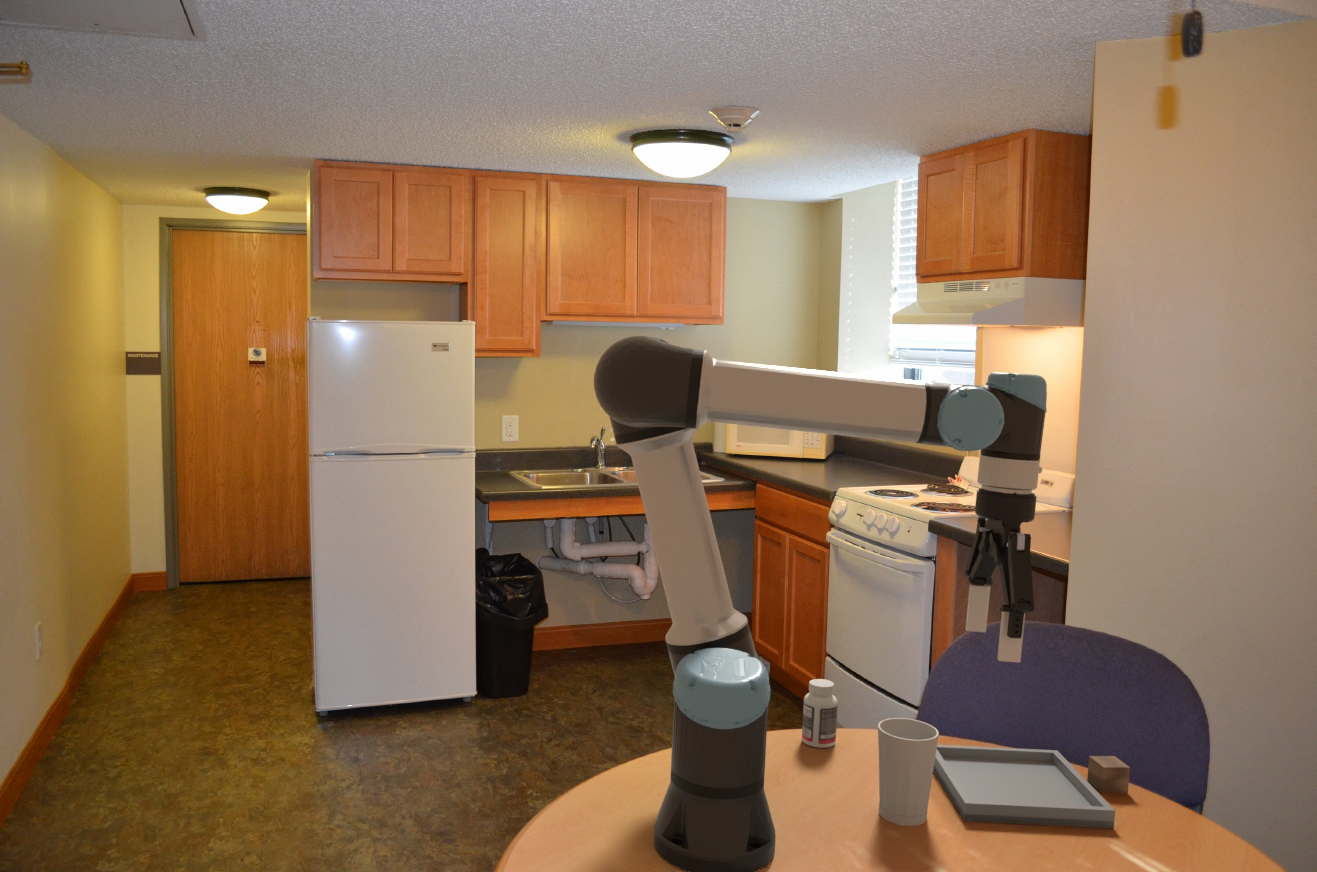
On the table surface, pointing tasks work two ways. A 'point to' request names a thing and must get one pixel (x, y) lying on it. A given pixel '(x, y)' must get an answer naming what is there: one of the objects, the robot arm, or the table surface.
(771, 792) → the table surface
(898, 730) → the cup
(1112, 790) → the walnut block
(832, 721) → the pill bottle
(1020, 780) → the tray
